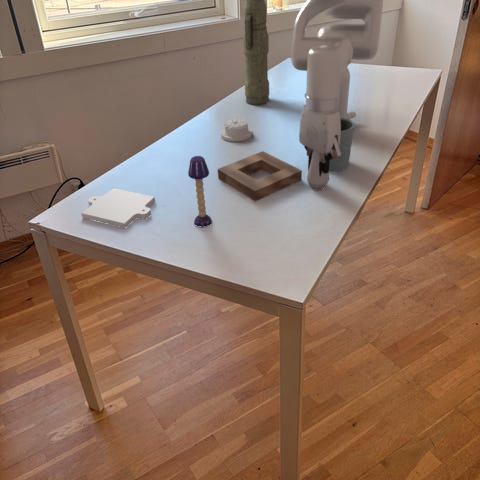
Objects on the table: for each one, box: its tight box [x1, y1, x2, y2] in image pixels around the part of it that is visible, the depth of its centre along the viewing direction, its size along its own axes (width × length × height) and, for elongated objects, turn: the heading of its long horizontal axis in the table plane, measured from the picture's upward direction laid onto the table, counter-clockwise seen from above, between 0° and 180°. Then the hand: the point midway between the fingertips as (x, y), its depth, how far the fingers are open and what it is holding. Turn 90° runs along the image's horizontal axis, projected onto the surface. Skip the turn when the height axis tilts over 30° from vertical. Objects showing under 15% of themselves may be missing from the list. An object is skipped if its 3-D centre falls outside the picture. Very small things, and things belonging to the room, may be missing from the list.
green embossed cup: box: [326, 117, 356, 172], centre depth 131 cm, size 10×10×12 cm
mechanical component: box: [220, 118, 253, 142], centre depth 153 cm, size 10×4×10 cm
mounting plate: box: [81, 187, 156, 229], centre depth 120 cm, size 18×13×2 cm
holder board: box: [217, 150, 303, 202], centre depth 129 cm, size 16×16×3 cm
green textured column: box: [242, 0, 270, 106], centre depth 168 cm, size 9×12×35 cm
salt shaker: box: [306, 149, 330, 191], centre depth 122 cm, size 6×6×13 cm
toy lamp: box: [187, 155, 213, 228], centre depth 109 cm, size 5×5×17 cm
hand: (318, 171), depth 123 cm, fingers closed on salt shaker, 3 cm apart
